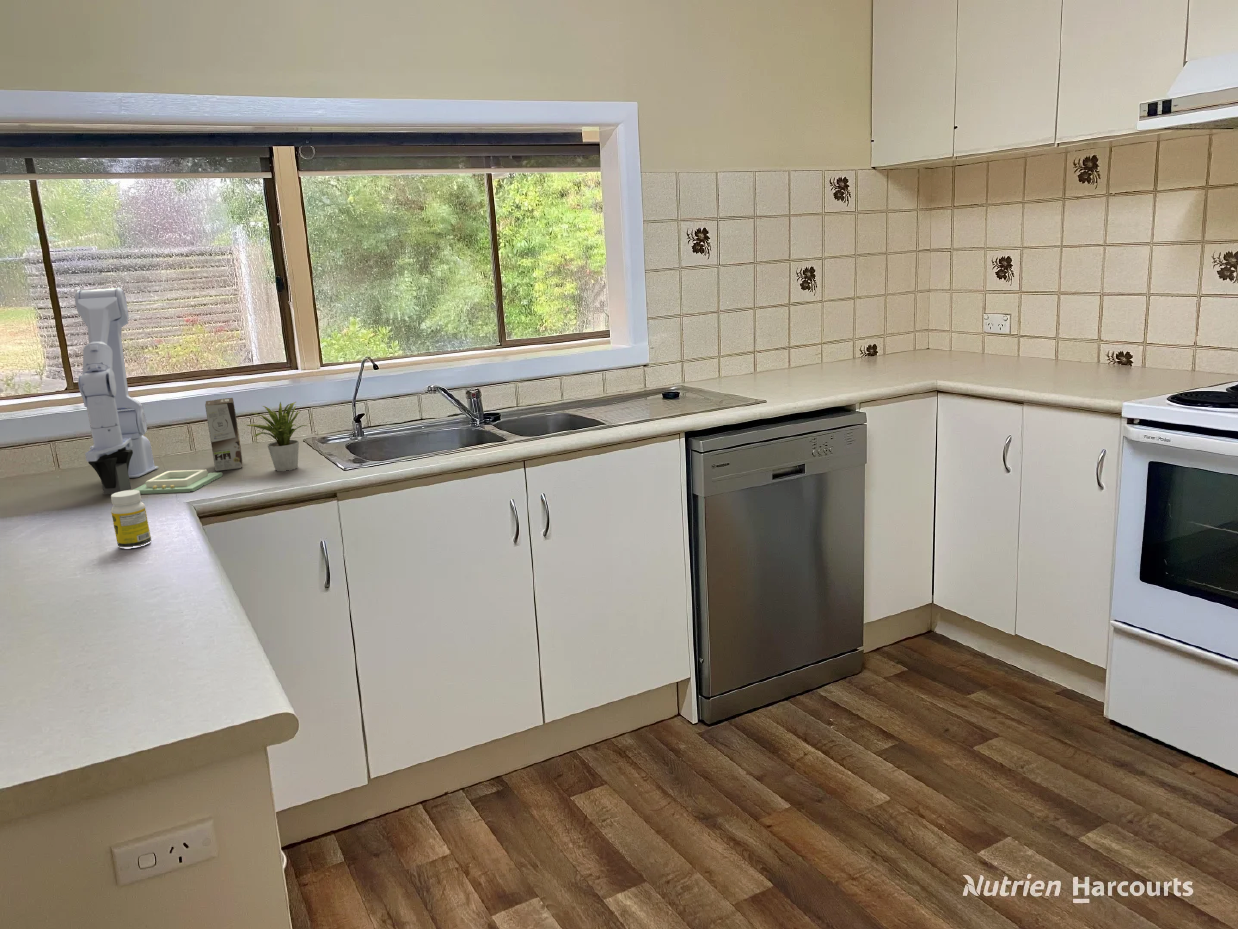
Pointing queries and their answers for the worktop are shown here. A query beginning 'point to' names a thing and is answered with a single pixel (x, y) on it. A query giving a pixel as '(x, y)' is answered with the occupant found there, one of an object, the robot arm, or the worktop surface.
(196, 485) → the socket board
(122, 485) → the plug block
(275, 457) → the house plant
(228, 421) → the coffee box
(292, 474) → the worktop surface
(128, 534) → the supplement bottle
